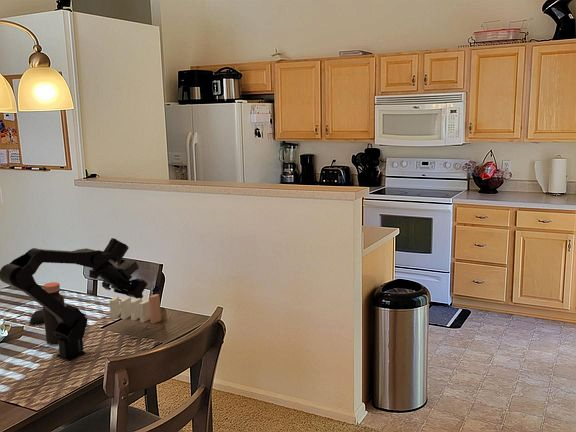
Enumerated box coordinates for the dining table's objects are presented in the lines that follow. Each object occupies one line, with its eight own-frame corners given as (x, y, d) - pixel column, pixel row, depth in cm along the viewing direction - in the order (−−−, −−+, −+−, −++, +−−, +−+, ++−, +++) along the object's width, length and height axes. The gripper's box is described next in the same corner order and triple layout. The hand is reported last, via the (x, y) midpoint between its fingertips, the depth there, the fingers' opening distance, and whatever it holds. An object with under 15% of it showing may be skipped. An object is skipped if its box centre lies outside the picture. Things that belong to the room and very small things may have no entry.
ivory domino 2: (132, 314, 215) (130, 296, 214) (125, 319, 210) (123, 301, 209) (128, 314, 216) (126, 296, 214) (121, 319, 211) (119, 301, 209)
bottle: (59, 345, 188) (53, 288, 184) (42, 343, 190) (35, 286, 186) (72, 337, 194) (66, 282, 190) (55, 335, 196) (49, 280, 192)
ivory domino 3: (142, 315, 214) (141, 298, 212) (134, 320, 209) (133, 302, 208) (139, 315, 214) (138, 297, 213) (131, 320, 210) (129, 302, 208)
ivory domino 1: (120, 313, 216) (119, 296, 215) (114, 318, 211) (113, 300, 210) (116, 313, 216) (114, 296, 215) (110, 318, 211) (109, 300, 210)
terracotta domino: (161, 320, 208) (159, 294, 206) (153, 323, 206) (151, 297, 204) (158, 319, 209) (156, 294, 207) (150, 322, 207) (148, 296, 205)
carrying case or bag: (29, 327, 205) (72, 322, 209) (28, 319, 205) (71, 315, 208) (33, 317, 215) (74, 312, 219) (32, 309, 215) (74, 305, 218)
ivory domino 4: (152, 317, 211) (151, 300, 210) (143, 322, 207) (142, 304, 206) (149, 317, 212) (148, 299, 211) (140, 321, 208) (138, 303, 207)
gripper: (140, 257, 187) (168, 281, 198) (106, 249, 198) (134, 272, 209) (122, 286, 183) (151, 309, 193) (88, 276, 194) (118, 298, 204)
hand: (139, 296), depth 200 cm, fingers open, 3 cm apart
